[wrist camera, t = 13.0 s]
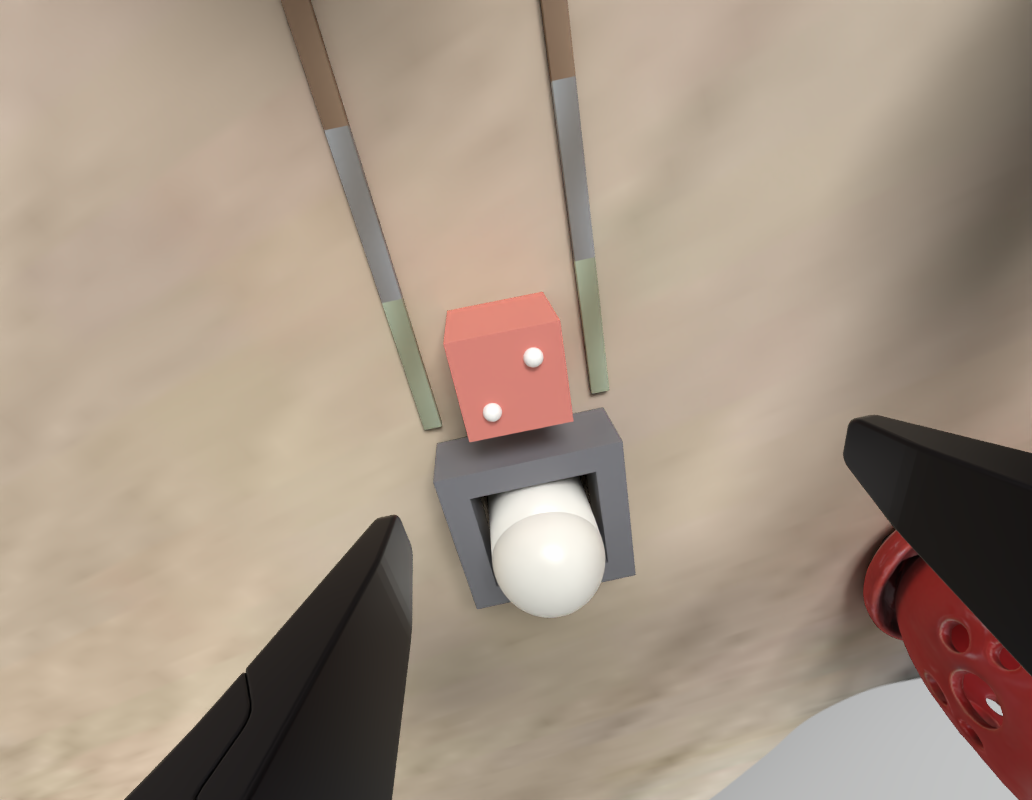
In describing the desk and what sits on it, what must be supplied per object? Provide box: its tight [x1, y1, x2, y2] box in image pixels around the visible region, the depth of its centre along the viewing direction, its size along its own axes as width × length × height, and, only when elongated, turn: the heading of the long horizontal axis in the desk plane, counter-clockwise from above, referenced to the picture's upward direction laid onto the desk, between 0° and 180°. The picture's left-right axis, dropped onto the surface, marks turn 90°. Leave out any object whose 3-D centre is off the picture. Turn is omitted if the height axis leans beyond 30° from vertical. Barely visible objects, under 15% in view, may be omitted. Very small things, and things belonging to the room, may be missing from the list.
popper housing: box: [433, 408, 636, 609], centre depth 22 cm, size 8×8×3 cm
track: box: [281, 0, 609, 430], centre depth 17 cm, size 9×18×1 cm, turn 11°
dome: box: [488, 476, 605, 618], centre depth 20 cm, size 5×5×6 cm
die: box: [443, 292, 573, 442], centre depth 18 cm, size 4×4×4 cm
